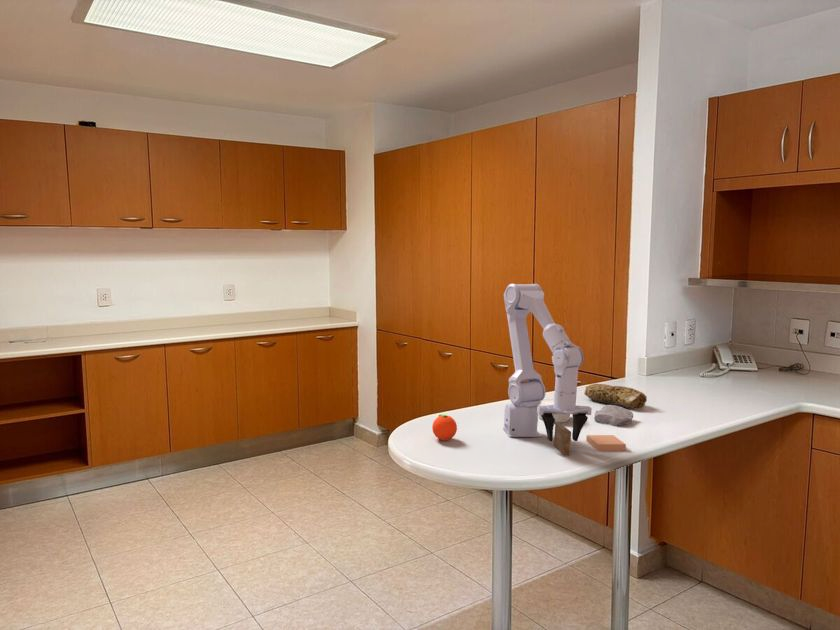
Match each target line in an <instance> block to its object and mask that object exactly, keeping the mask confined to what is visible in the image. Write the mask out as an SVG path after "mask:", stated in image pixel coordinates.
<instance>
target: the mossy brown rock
mask: <svg viewBox="0 0 840 630" xmlns="http://www.w3.org/2000/svg"><path fill="white" fill-rule="evenodd" d="M584 395H585V396H586V397H587V398H589V399H591V400H593V401H596V402H599V403H603V404H609V405H618V406H619V405H620V406H622V407H625V408H626V409H627V408H629V409H643V408H644V406H645V405H646V403H647V400H648V399H647V395H646V394H645V393H643V392H642V391H640V390H637V389H635V388H632V387H628V386H619V385H609V384H603V383H593V384H588V385H587V386H585V389H584Z"/></svg>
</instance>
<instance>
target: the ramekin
mask: <svg viewBox="0 0 840 630" xmlns="http://www.w3.org/2000/svg"><path fill="white" fill-rule="evenodd" d="M546 405H554V398H544V399H543V400H542V401H541V404H539V406H546ZM552 415H553V418H554V419H555V422H554V424H555V423H561V424H563V423H566V422H568V421H569V419H570V416H571V414H552ZM538 419H540V420H542V421H543V419H542V417H541V415H539V414H538Z"/></svg>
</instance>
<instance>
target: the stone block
mask: <svg viewBox="0 0 840 630" xmlns="http://www.w3.org/2000/svg"><path fill="white" fill-rule="evenodd" d="M633 418H634V413H633V412H632V410H630V409H627V408H624V406H619V405H617V404H607V405H606V404H605V405H604V406H602V407H601V408H600V410H595V411H594V418H593V419H594V421H595V423H598V424H604V425H609V426H613V427H619V426H622V425H627V424H631V423H632V422H633Z"/></svg>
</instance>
